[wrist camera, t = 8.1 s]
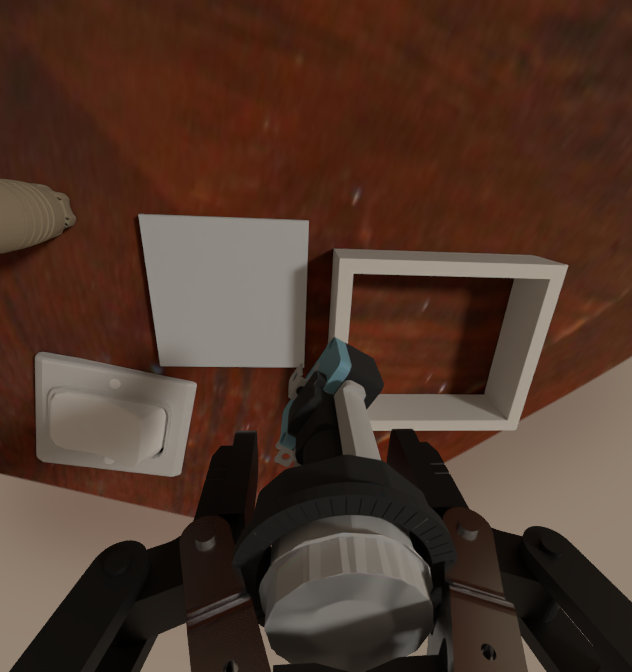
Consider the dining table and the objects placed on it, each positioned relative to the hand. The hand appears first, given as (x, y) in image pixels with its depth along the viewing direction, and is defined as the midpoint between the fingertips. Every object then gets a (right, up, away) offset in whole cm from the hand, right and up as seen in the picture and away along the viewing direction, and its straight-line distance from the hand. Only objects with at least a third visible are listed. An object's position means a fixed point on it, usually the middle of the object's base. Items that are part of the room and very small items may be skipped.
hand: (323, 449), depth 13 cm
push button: (0, +2, +4) cm, 4 cm away
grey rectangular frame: (+9, +4, +17) cm, 20 cm away
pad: (-7, +7, +15) cm, 18 cm away
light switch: (-18, -3, +20) cm, 27 cm away
